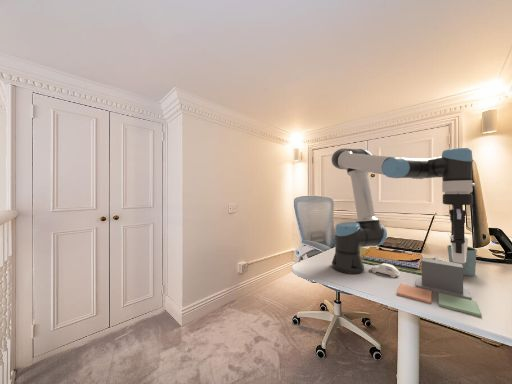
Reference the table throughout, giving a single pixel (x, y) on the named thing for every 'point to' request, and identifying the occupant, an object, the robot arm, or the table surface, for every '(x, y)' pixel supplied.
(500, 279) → the table surface
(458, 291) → the block
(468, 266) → the teal cup
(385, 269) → the car
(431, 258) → the electrical switch
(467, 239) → the milkshake
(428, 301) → the pad terracotta
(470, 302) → the pad sage
